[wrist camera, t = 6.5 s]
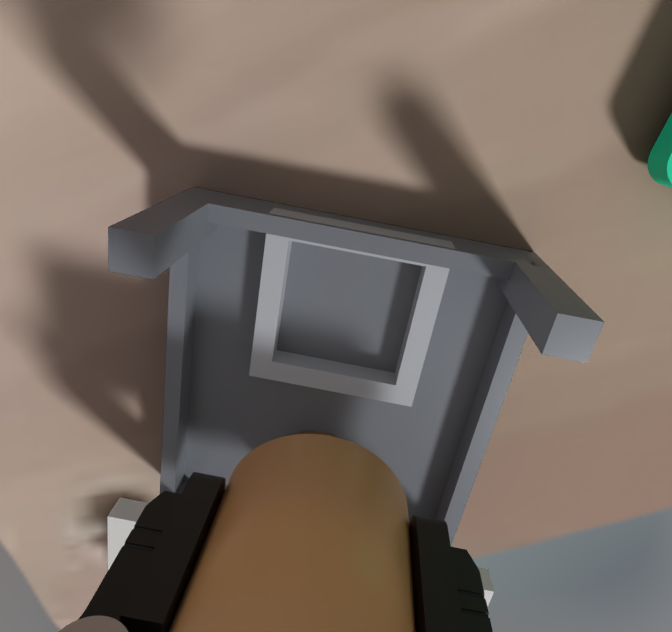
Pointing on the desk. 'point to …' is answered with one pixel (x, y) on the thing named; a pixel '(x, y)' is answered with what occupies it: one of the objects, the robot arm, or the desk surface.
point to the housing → (340, 337)
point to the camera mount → (662, 156)
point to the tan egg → (305, 545)
